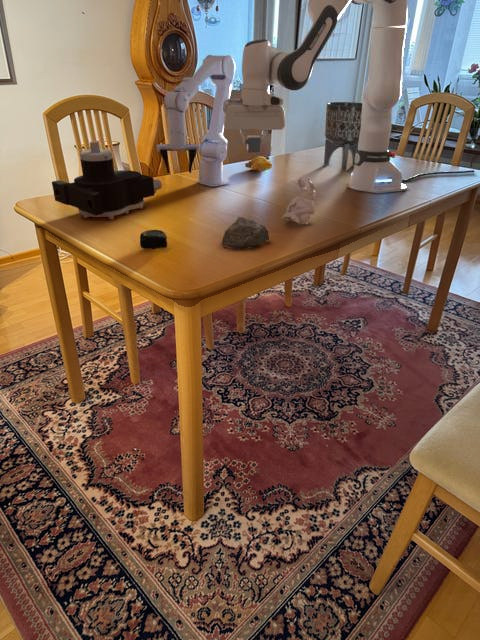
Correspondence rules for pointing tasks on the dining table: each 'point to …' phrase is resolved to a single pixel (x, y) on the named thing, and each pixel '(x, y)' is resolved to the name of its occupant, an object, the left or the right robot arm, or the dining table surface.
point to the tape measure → (153, 239)
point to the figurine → (301, 204)
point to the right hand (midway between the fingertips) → (253, 144)
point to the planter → (342, 130)
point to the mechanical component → (104, 186)
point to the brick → (253, 143)
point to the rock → (245, 234)
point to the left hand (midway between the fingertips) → (179, 172)
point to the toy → (259, 163)
